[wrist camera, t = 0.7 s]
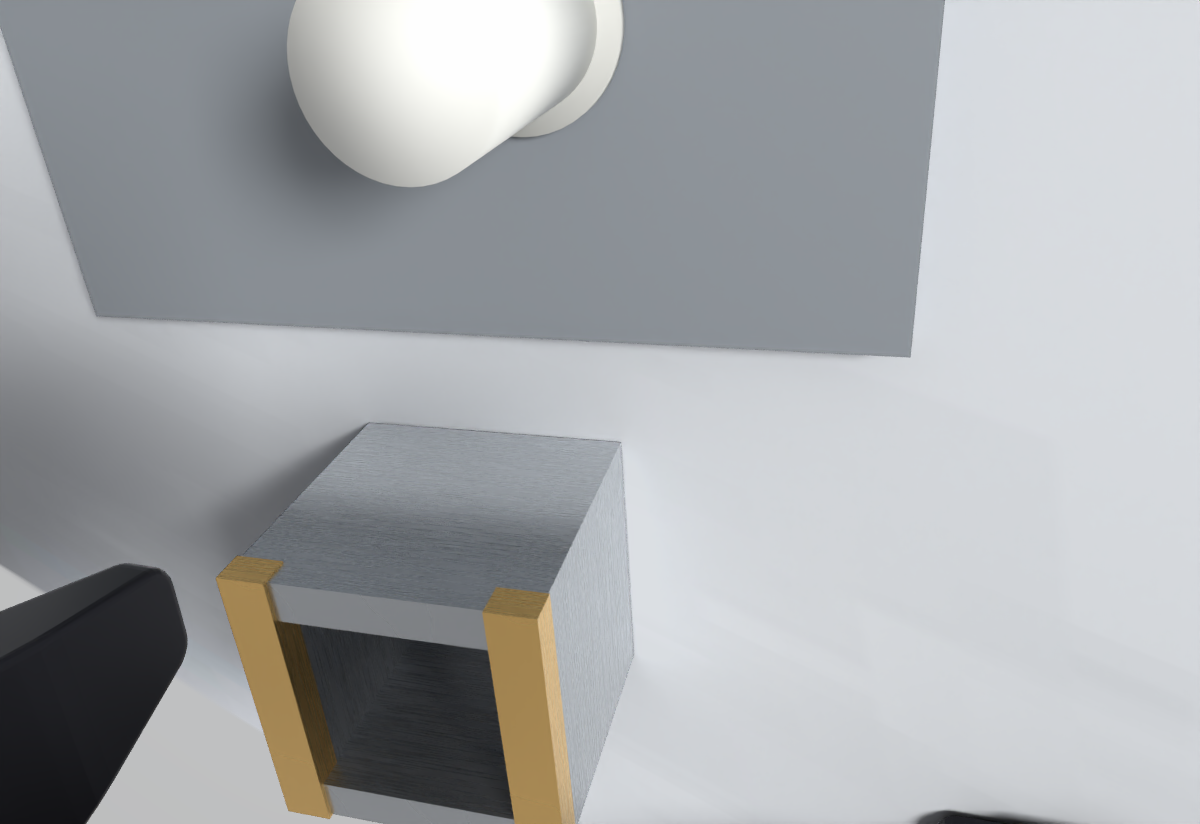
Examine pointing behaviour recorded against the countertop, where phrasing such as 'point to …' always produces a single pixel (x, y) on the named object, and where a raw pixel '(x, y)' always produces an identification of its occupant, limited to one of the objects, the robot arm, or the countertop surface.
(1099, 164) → the countertop surface
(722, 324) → the panel
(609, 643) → the open cube shelf
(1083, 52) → the countertop surface
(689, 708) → the countertop surface
